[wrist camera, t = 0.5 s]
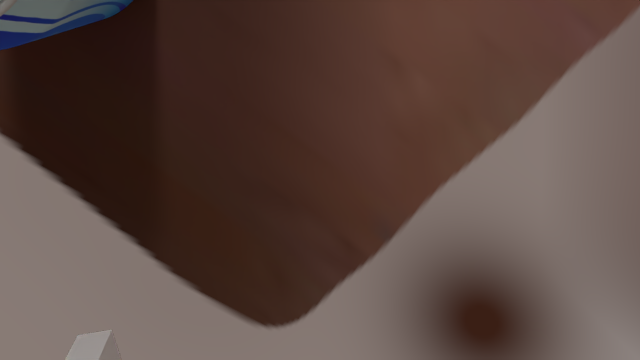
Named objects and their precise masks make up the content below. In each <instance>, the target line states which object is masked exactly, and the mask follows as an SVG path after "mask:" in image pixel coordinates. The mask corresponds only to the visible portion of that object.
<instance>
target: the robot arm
mask: <svg viewBox="0 0 640 360" xmlns="http://www.w3.org/2000/svg"><path fill="white" fill-rule="evenodd" d="M65 360H122V359H121V356H120V353H119V350H118V347H117V344H116V341H115V338H114V334H113V332H112V330H105V331H100V332H93V333H87V334H81V335H77V337H76V339H75V341H74V343H73V345H72V347H71V349H70V351H69V353H68V355H67V356H66V358H65Z"/></svg>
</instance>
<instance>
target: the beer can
mask: <svg viewBox="0 0 640 360" xmlns="http://www.w3.org/2000/svg"><path fill="white" fill-rule="evenodd" d="M132 1H133V0H0V50H3V49H8V48H12V47H16V46H19V45H22V44H26V43H29V42H32V41H35V40H39V39H42V38H45V37H48V36H52V35H55V34H58V33H61V32H64V31H68V30H71V29H74V28H77V27H81V26H84V25H87V24H90V23H93V22H97V21H100V20H103V19H106V18H109V17H111V16H113V15H115V14H117V13H119V12H120V11H122V10H123V9H124V8H126V7H127V6H128V5H129V4H130V3H131V2H132Z"/></svg>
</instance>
